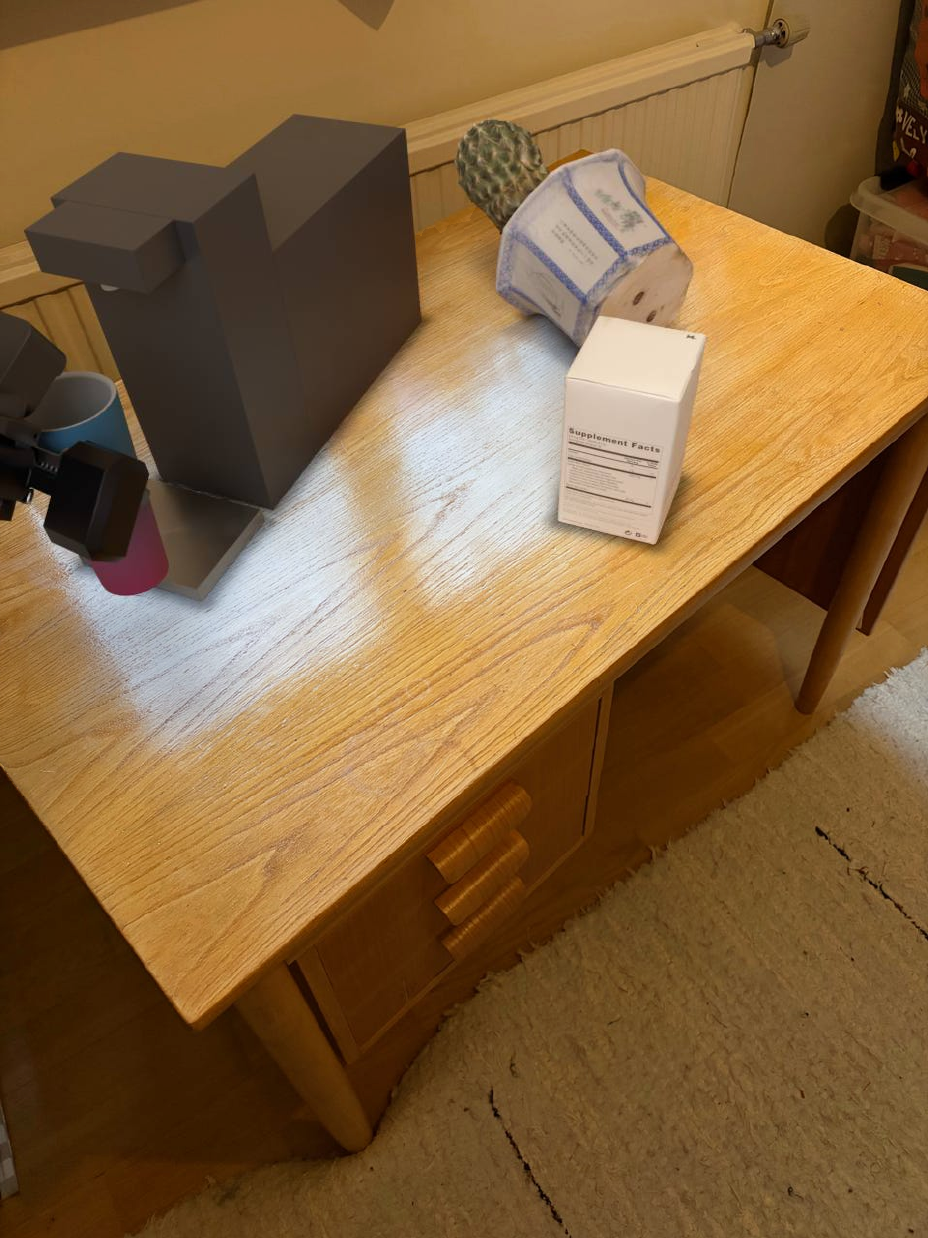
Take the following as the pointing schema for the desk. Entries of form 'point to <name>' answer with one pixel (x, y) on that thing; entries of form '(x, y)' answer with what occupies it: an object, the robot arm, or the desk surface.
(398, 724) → the desk surface
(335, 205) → the coffee maker
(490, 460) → the desk surface
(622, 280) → the potted plant
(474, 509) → the desk surface
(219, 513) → the grey tray
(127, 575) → the cup
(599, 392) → the white product box
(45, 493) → the robot arm
